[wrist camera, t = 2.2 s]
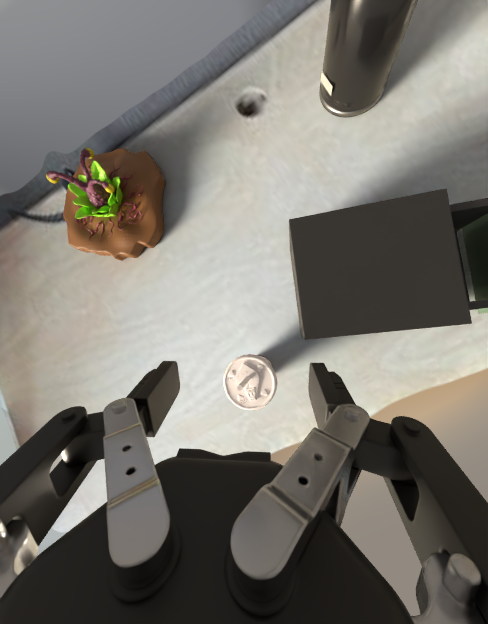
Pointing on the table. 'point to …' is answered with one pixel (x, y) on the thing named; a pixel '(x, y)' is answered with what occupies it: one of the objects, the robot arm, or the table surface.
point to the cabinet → (378, 268)
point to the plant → (114, 203)
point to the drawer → (474, 247)
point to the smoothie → (250, 382)
